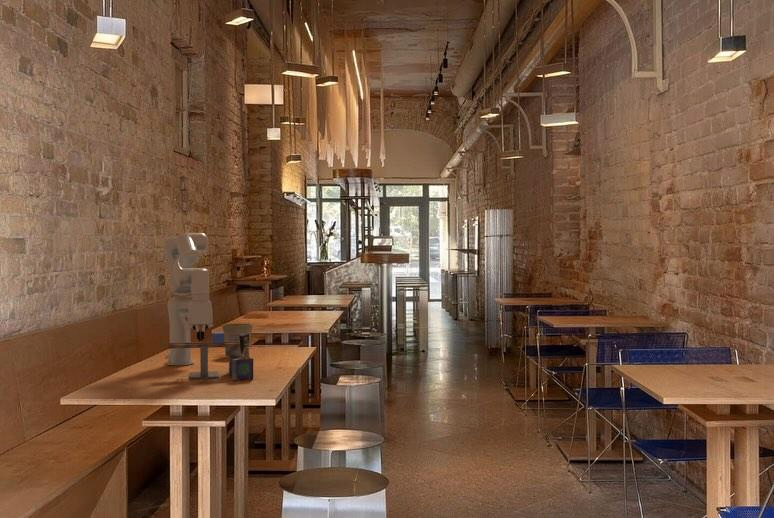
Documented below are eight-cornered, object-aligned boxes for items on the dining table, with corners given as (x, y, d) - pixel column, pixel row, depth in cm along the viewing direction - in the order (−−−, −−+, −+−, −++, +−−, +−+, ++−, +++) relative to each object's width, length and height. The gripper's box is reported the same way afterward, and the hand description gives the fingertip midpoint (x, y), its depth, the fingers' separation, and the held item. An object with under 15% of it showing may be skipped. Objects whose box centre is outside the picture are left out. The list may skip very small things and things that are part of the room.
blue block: (212, 344, 356) (212, 333, 356) (212, 343, 361) (212, 332, 361) (224, 344, 358) (224, 333, 357) (224, 343, 362) (223, 332, 362)
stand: (189, 379, 350) (189, 347, 350) (189, 374, 364) (189, 343, 364) (237, 378, 355) (236, 345, 354) (235, 373, 368) (235, 342, 368)
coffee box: (242, 372, 371) (242, 335, 370) (228, 371, 372) (228, 335, 372) (249, 369, 380) (249, 333, 379) (236, 368, 381) (236, 333, 381)
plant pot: (258, 355, 426) (258, 323, 425) (239, 358, 413) (238, 326, 412) (236, 353, 433) (235, 322, 433) (216, 356, 420) (216, 325, 420)
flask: (233, 381, 346) (233, 355, 346) (230, 380, 349) (230, 354, 348) (254, 379, 351) (254, 354, 351) (251, 378, 353) (251, 353, 353)
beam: (167, 358, 351) (167, 345, 351) (168, 355, 359) (167, 342, 359) (240, 356, 358) (240, 343, 358) (239, 353, 366) (239, 341, 365)
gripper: (182, 298, 352) (182, 342, 353) (218, 298, 356) (218, 341, 356) (182, 297, 359) (182, 340, 360) (217, 297, 363) (217, 339, 363)
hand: (200, 340), depth 358 cm, fingers closed
